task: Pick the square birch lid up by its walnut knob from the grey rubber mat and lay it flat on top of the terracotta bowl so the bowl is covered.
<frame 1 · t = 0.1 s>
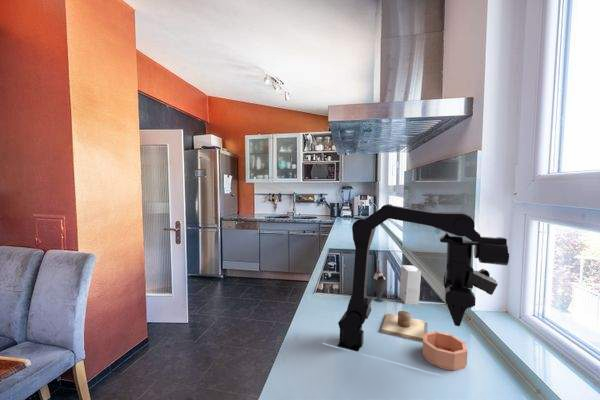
hand: (455, 318, 75), 15 cm above the worktop, fingers open, 9 cm apart
skincare box: (409, 301, 121), on the worktop
bowl: (443, 358, 81), on the worktop
mat: (403, 328, 97), on the worktop
lid: (403, 327, 97), resting on mat
sundae: (378, 301, 121), on the worktop
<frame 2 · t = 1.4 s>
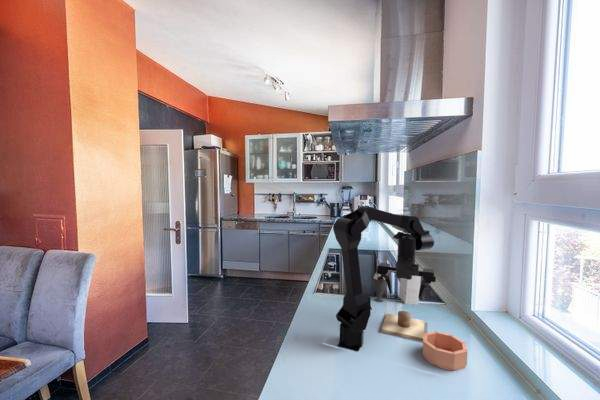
hand: (404, 296, 97), 12 cm above the worktop, fingers open, 9 cm apart
nothing on the worktop moved.
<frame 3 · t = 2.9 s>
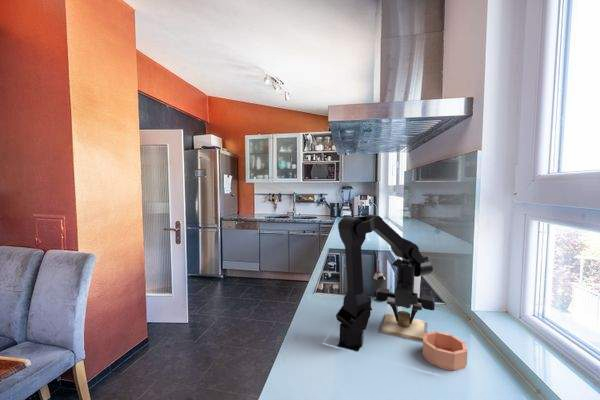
hand: (403, 322, 97), 2 cm above the worktop, fingers closed on lid, 4 cm apart
lid: (403, 327, 97), resting on mat, touching gripper
everything else where it was.
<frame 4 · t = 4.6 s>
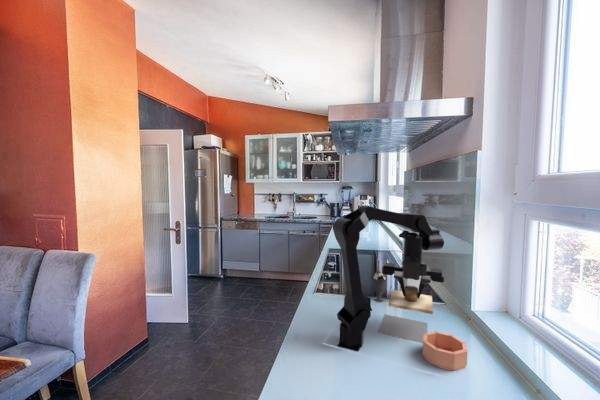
hand: (411, 297, 94), 12 cm above the worktop, fingers closed on lid, 4 cm apart
lid: (410, 302, 94), point 11 cm above the worktop, touching gripper
everything else where it was.
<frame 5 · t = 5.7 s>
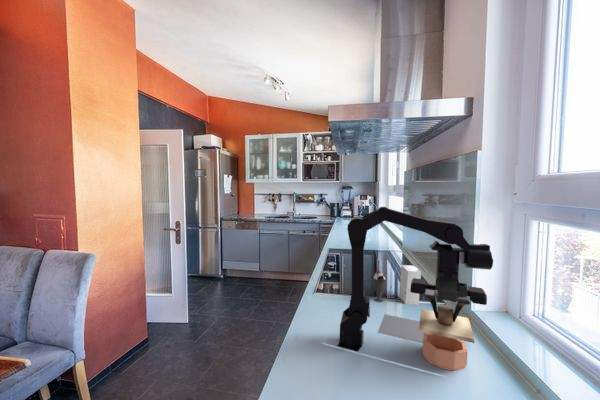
hand: (444, 319, 80), 11 cm above the worktop, fingers closed on lid, 4 cm apart
lid: (444, 325, 80), point 10 cm above the worktop, touching gripper
everything else where it was.
when the fingers open (8 cm above the worktop, at t = 6.5 s): lid drops 1 cm, resting on bowl.
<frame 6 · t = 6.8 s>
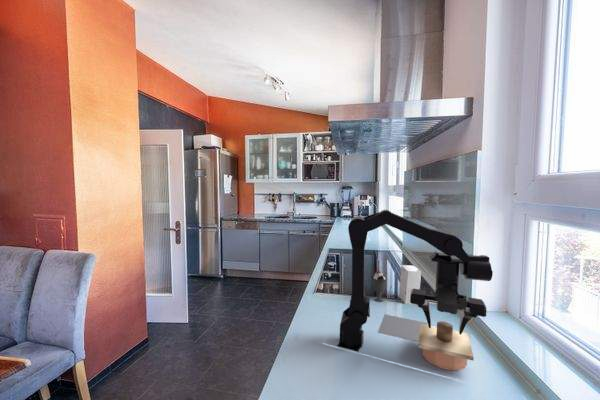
hand: (444, 330, 80), 8 cm above the worktop, fingers open, 7 cm apart
lid: (444, 341, 80), point 5 cm above the worktop, touching bowl
everything else where it was.
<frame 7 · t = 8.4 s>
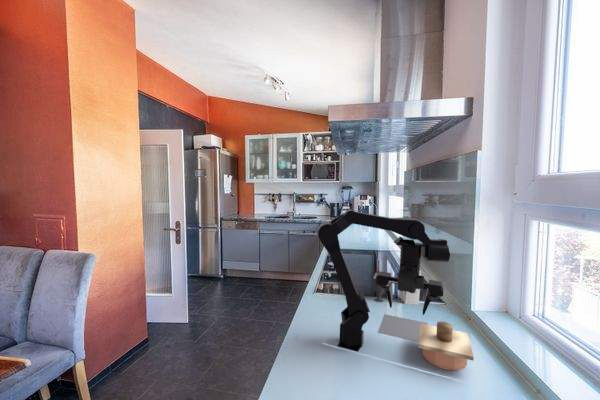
hand: (406, 310, 85), 12 cm above the worktop, fingers open, 9 cm apart
nothing on the worktop moved.
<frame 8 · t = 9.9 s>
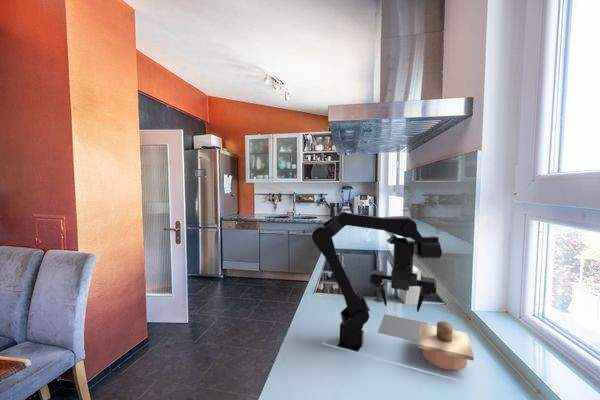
hand: (401, 308, 86), 12 cm above the worktop, fingers open, 9 cm apart
nothing on the worktop moved.
at the end: lid 0.1 cm off-centre on the bowl, point 5.0 cm above the bowl's base; lid tilted 0°; the gripper is holding nothing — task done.
